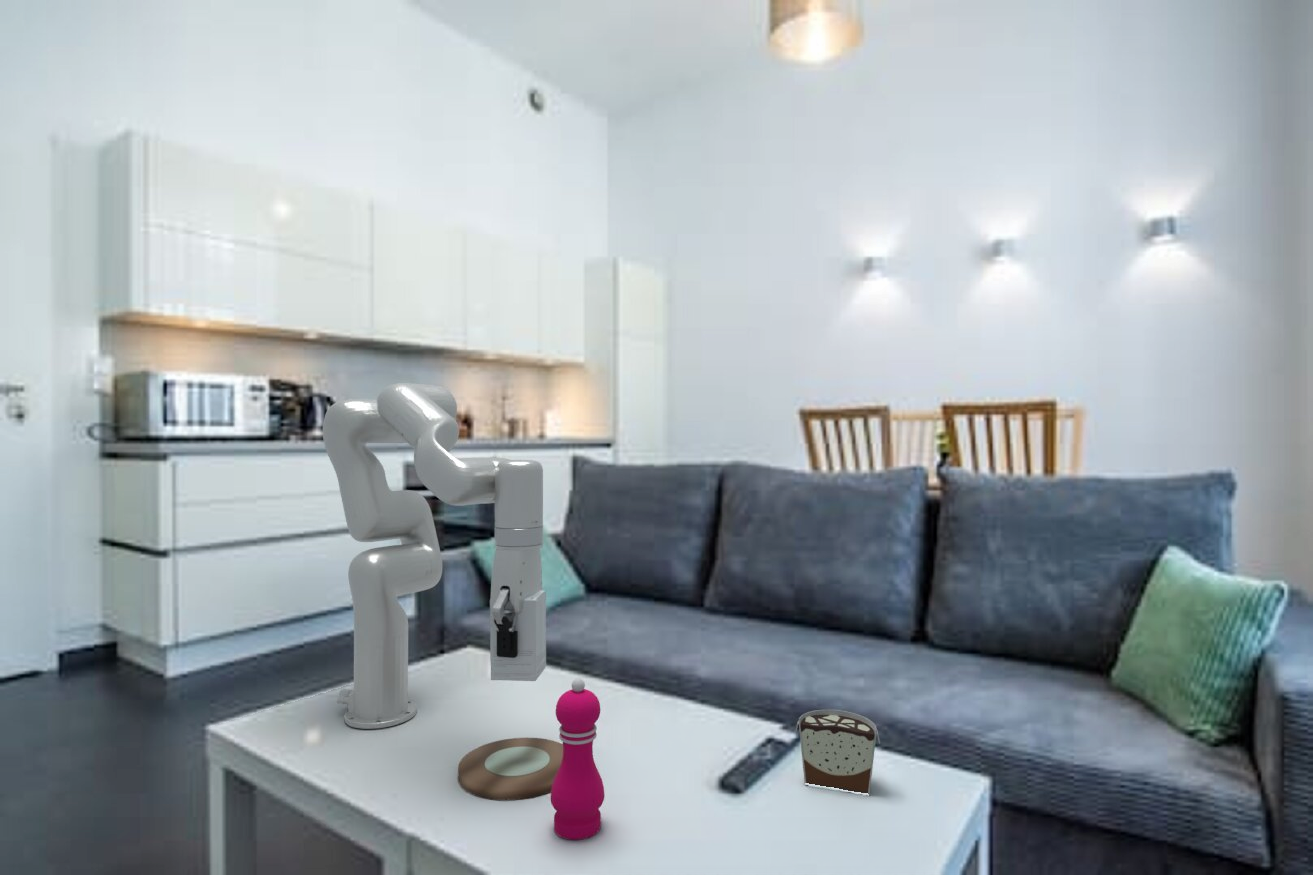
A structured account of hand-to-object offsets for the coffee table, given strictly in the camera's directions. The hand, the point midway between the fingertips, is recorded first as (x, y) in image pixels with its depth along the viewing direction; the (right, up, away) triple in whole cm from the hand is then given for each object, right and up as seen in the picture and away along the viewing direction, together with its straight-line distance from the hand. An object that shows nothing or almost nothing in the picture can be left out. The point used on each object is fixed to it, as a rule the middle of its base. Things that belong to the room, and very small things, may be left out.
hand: (518, 648), depth 113 cm
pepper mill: (+11, -19, -17) cm, 28 cm away
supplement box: (0, -4, 0) cm, 4 cm away
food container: (+50, -20, -3) cm, 54 cm away
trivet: (0, -19, -1) cm, 19 cm away
